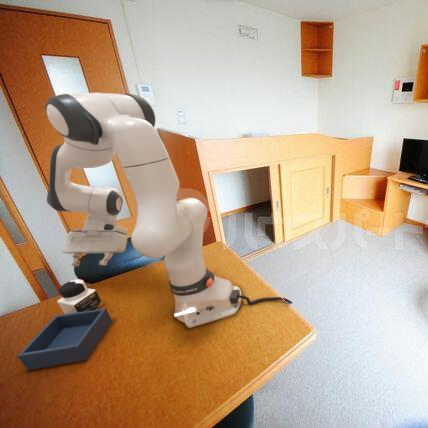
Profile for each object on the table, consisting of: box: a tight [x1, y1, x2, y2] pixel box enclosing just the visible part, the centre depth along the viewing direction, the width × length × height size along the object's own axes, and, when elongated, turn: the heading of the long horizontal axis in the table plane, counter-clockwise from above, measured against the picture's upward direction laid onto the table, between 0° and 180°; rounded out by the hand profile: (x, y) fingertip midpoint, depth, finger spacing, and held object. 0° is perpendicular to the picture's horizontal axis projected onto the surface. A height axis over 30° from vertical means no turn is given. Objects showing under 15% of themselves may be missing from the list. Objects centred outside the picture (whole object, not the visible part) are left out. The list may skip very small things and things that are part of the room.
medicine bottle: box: [56, 278, 104, 314], centre depth 81 cm, size 7×7×12 cm
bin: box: [16, 308, 113, 371], centre depth 71 cm, size 14×14×6 cm
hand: (88, 265), depth 85 cm, fingers open, 8 cm apart
